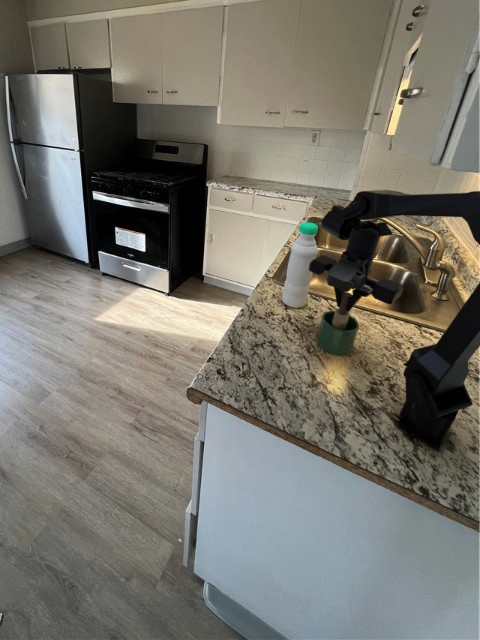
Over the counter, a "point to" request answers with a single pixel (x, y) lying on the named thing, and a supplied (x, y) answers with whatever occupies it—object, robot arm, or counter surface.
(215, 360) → the counter surface
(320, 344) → the green plastic cup
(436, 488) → the counter surface
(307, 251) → the water bottle
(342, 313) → the brush
